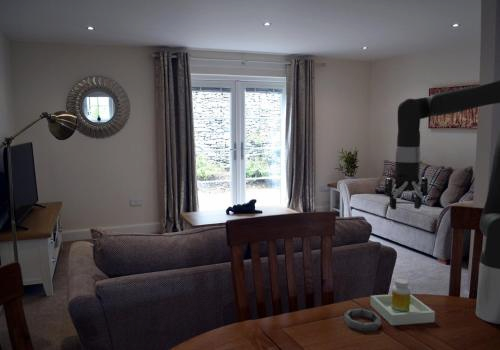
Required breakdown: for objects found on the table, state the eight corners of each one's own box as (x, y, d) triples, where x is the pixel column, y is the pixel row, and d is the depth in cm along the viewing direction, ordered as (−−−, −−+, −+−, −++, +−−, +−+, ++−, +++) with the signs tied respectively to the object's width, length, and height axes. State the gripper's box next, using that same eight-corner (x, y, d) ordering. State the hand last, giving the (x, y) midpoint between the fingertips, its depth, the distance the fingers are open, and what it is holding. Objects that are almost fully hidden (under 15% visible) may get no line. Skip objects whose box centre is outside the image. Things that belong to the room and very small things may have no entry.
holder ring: (370, 313, 126) (370, 307, 126) (385, 329, 117) (386, 323, 116) (340, 315, 125) (340, 309, 125) (353, 332, 115) (353, 325, 115)
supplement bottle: (408, 315, 124) (410, 285, 123) (390, 311, 126) (391, 282, 125) (410, 308, 128) (411, 279, 127) (392, 305, 131) (394, 276, 130)
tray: (408, 302, 135) (409, 293, 135) (434, 322, 121) (435, 312, 121) (370, 304, 133) (370, 295, 132) (391, 325, 119) (392, 315, 119)
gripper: (393, 161, 126) (391, 211, 128) (434, 161, 129) (431, 210, 131) (381, 159, 134) (380, 207, 136) (420, 159, 136) (418, 206, 138)
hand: (405, 208), depth 133 cm, fingers open, 8 cm apart
